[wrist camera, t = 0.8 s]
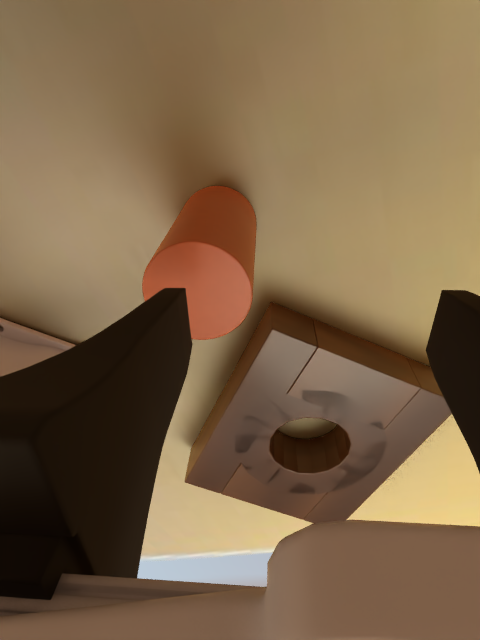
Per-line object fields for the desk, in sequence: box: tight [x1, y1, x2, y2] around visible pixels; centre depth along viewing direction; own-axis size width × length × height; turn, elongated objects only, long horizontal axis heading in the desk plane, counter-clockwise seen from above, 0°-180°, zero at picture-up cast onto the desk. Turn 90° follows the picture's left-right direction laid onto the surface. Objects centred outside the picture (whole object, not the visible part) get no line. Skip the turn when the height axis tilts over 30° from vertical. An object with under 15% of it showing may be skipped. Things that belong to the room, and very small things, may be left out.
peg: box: [142, 186, 256, 340], centre depth 18 cm, size 4×4×8 cm
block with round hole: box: [185, 302, 452, 523], centre depth 27 cm, size 12×14×3 cm
